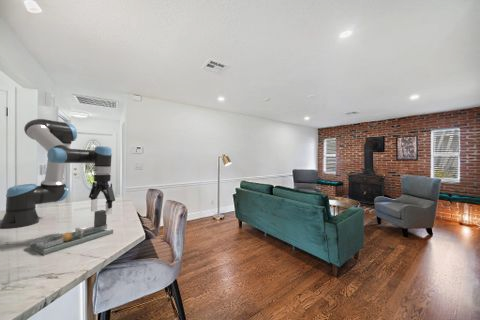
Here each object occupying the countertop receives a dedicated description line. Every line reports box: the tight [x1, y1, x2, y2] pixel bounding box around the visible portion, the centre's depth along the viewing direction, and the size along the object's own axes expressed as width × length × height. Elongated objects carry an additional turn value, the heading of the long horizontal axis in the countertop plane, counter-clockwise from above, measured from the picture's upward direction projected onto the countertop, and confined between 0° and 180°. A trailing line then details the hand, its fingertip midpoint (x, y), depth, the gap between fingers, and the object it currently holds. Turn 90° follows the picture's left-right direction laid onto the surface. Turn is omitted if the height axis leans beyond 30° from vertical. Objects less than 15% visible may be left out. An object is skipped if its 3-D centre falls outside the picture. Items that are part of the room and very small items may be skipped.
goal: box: [34, 234, 63, 251], centre depth 85 cm, size 10×6×4 cm, turn 65°
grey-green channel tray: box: [28, 229, 114, 256], centre depth 94 cm, size 14×28×2 cm, turn 155°
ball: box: [61, 232, 73, 242], centre depth 91 cm, size 4×4×4 cm
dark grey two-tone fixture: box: [74, 209, 108, 238], centre depth 100 cm, size 5×13×11 cm, turn 155°
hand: (101, 212), depth 104 cm, fingers open, 13 cm apart
